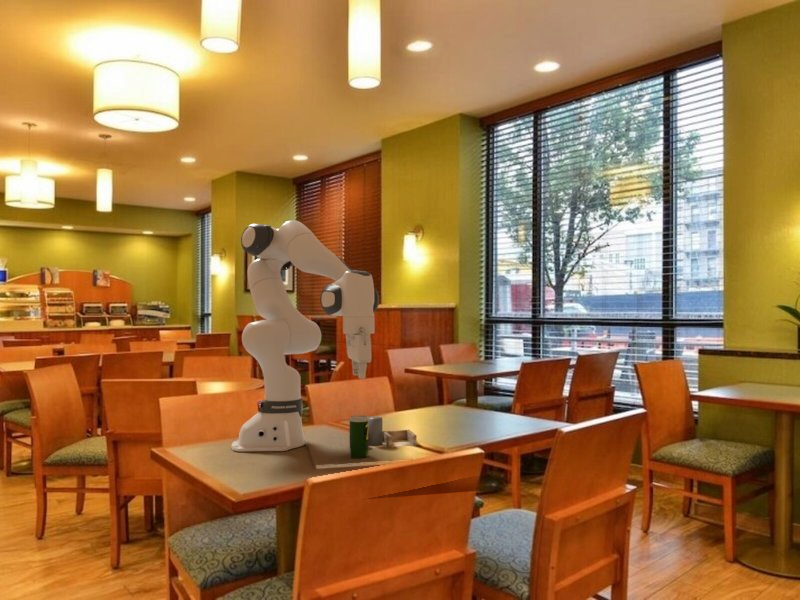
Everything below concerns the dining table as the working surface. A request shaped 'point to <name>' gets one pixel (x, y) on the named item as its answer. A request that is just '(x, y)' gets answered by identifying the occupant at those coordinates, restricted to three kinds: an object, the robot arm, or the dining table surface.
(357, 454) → the beer can
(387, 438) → the comb rack
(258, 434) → the robot arm
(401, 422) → the dining table surface
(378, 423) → the grey upright block
